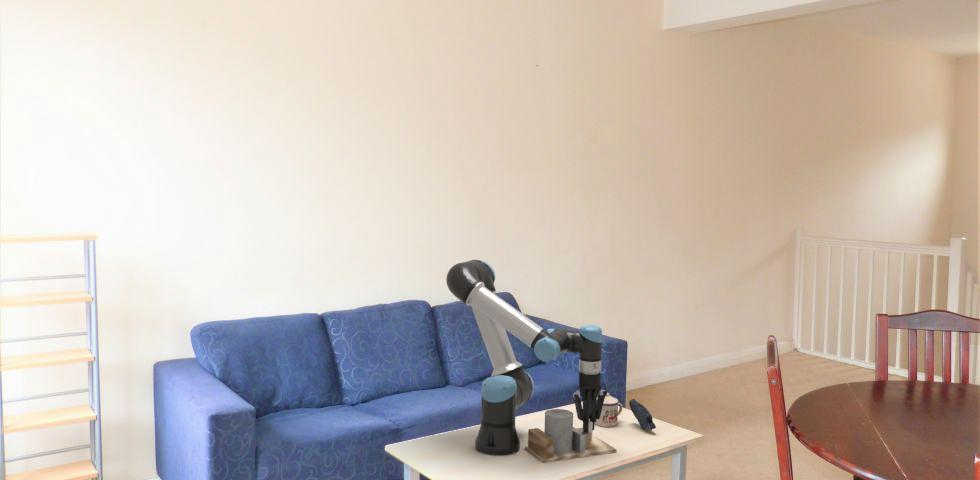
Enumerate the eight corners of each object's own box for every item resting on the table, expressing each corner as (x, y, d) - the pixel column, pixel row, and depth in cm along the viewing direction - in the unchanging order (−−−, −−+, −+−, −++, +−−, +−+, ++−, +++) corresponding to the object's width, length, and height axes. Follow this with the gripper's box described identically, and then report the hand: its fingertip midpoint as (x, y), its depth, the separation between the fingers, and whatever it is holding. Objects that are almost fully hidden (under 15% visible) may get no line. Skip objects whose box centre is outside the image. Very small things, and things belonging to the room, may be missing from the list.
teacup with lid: (603, 428, 284) (604, 397, 283) (588, 421, 292) (589, 391, 291) (629, 424, 290) (630, 394, 289) (613, 417, 298) (614, 387, 297)
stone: (662, 432, 281) (663, 405, 281) (651, 435, 278) (652, 408, 277) (632, 422, 292) (633, 396, 291) (621, 425, 288) (622, 399, 288)
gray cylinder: (572, 445, 263) (573, 409, 262) (572, 455, 254) (573, 418, 253) (544, 443, 264) (545, 408, 263) (543, 453, 255) (544, 416, 254)
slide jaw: (579, 452, 255) (580, 435, 255) (562, 441, 266) (562, 424, 266) (595, 450, 258) (596, 433, 257) (577, 439, 269) (578, 422, 268)
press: (542, 462, 249) (542, 441, 249) (524, 449, 261) (525, 429, 261) (616, 452, 260) (617, 431, 260) (596, 439, 272) (597, 420, 272)
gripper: (578, 376, 255) (577, 445, 257) (612, 372, 260) (610, 441, 262) (567, 370, 262) (566, 438, 264) (600, 367, 267) (599, 434, 269)
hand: (588, 439), depth 263 cm, fingers closed
